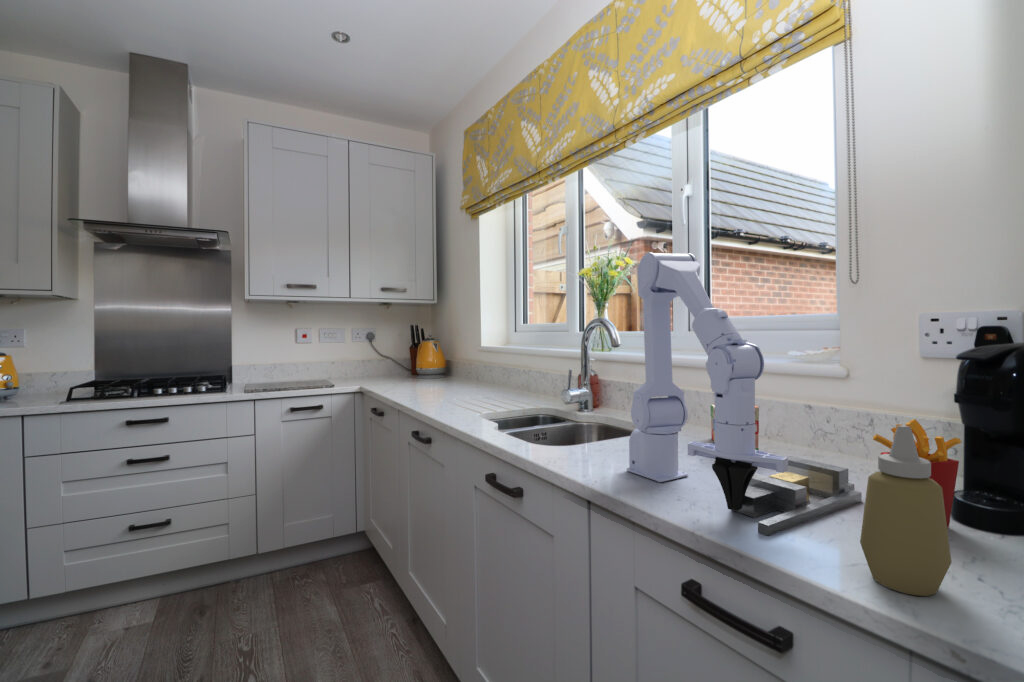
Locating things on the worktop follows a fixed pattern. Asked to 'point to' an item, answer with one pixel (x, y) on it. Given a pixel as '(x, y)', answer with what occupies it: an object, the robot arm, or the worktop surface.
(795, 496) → the sliding jaw
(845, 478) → the vise
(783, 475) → the brass block
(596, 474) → the worktop surface
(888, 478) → the squeeze bottle
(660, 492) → the worktop surface
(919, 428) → the french fries
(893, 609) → the worktop surface
